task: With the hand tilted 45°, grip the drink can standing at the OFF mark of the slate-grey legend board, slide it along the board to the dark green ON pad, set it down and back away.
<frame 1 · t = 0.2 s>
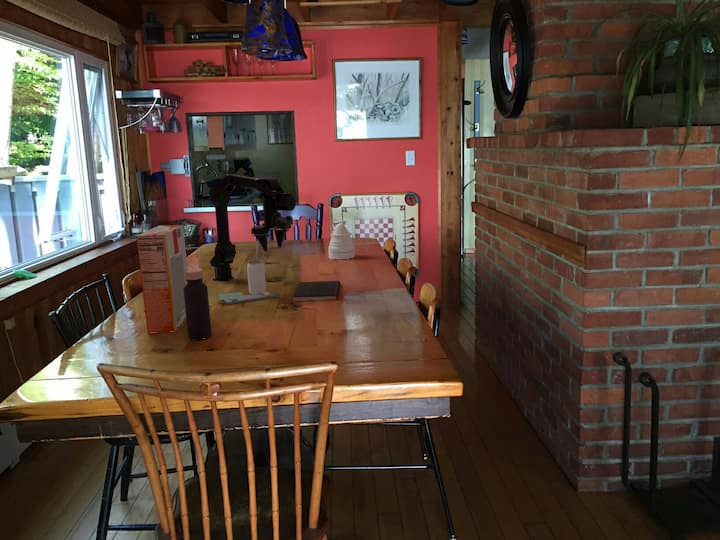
hand: (272, 249, 239), 14 cm above the table, tool pointing down, fingers open, 9 cm apart
hardcover book: (317, 294, 225), on the table
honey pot: (341, 257, 294), on the table
bottle: (200, 337, 177), on the table
cereal box: (171, 322, 194), on the table
on pad: (231, 296, 224), on the table
legend board: (250, 298, 220), on the table
can: (257, 293, 228), on the table
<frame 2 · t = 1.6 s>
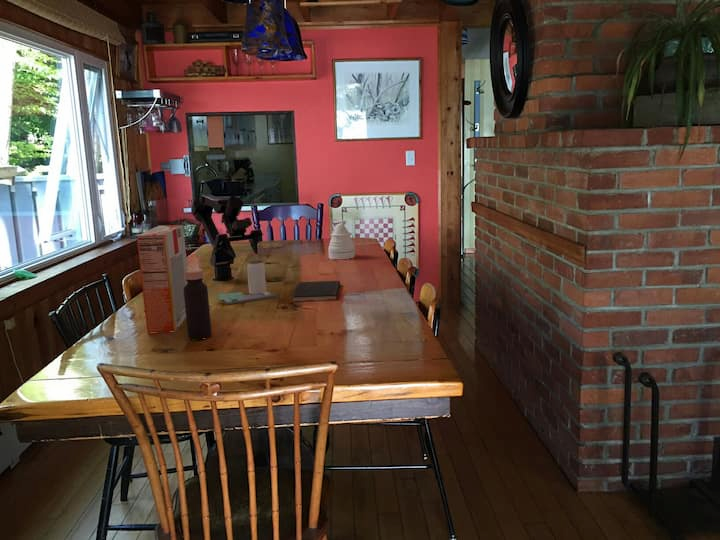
hand: (246, 255, 232), 13 cm above the table, tool tilted 45°, fingers open, 9 cm apart
nothing on the table moved.
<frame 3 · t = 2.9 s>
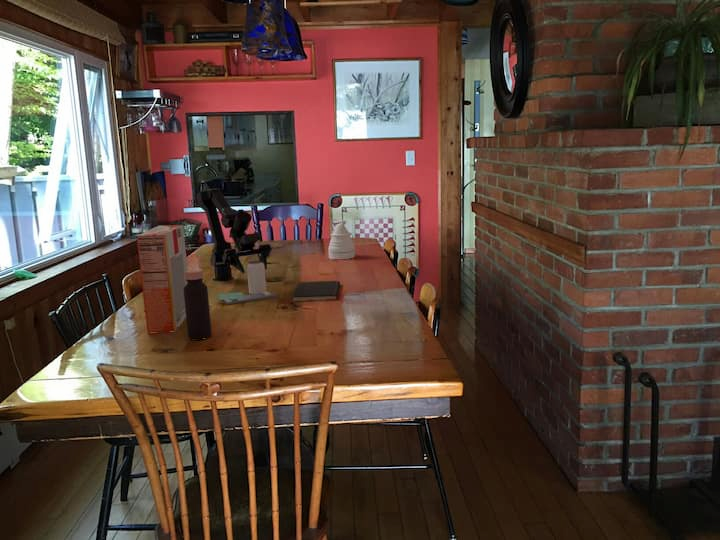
hand: (255, 270, 227), 9 cm above the table, tool tilted 45°, fingers open, 9 cm apart
nothing on the table moved.
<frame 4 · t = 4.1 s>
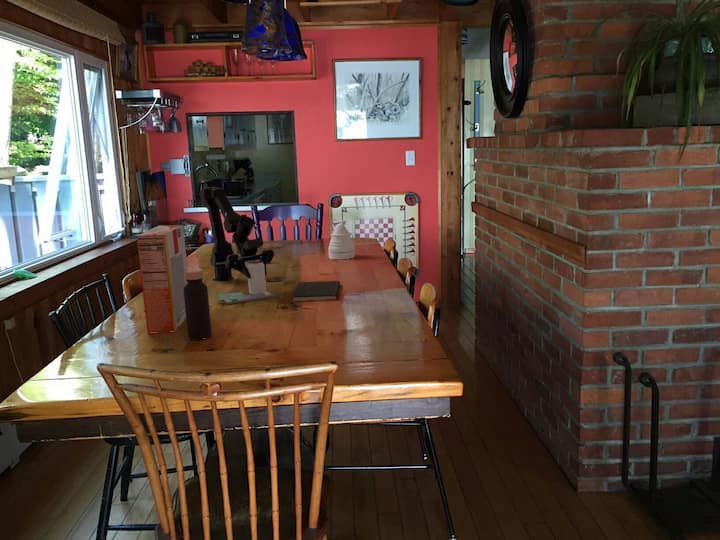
hand: (258, 276, 226), 7 cm above the table, tool tilted 45°, fingers closed on can, 6 cm apart
can: (257, 293, 228), on the table, touching gripper
everything else where it was.
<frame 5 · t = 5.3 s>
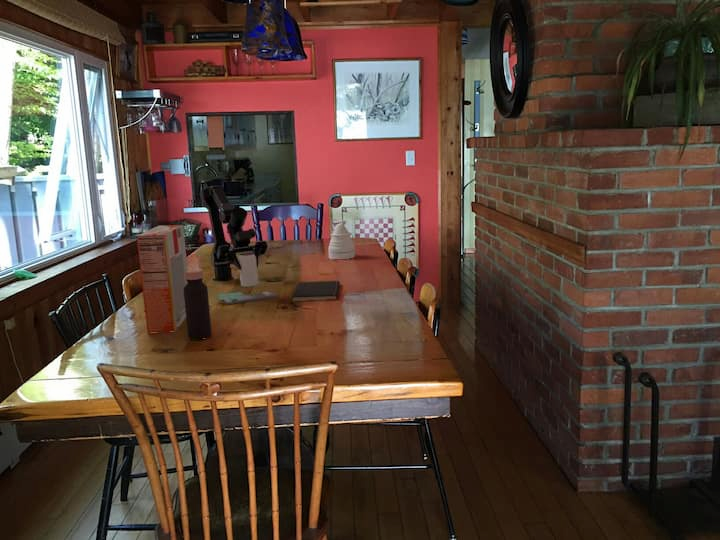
hand: (249, 268, 224), 10 cm above the table, tool tilted 45°, fingers closed on can, 6 cm apart
can: (249, 285, 226), point 3 cm above the table, touching gripper
everything else where it was.
when the fingers open (8 cm above the table, at t = 7.0 s): can stays where it is, resting on on pad.
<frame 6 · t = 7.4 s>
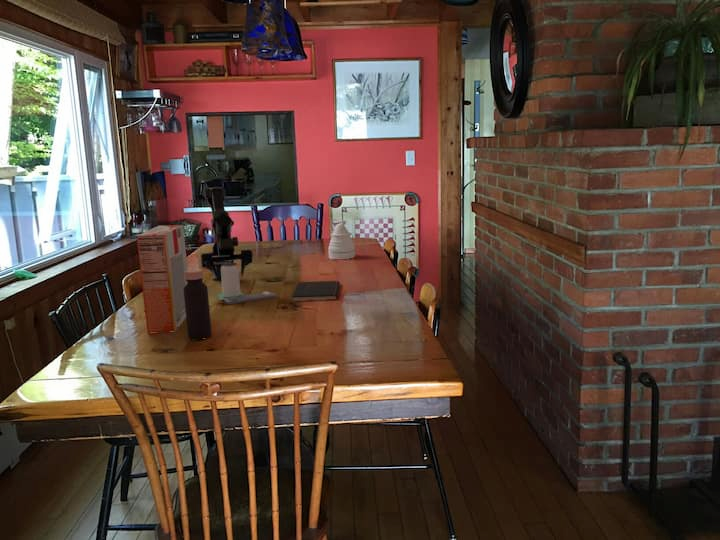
hand: (229, 276, 221), 8 cm above the table, tool tilted 45°, fingers open, 9 cm apart
can: (231, 296, 224), resting on on pad
everything else where it was.
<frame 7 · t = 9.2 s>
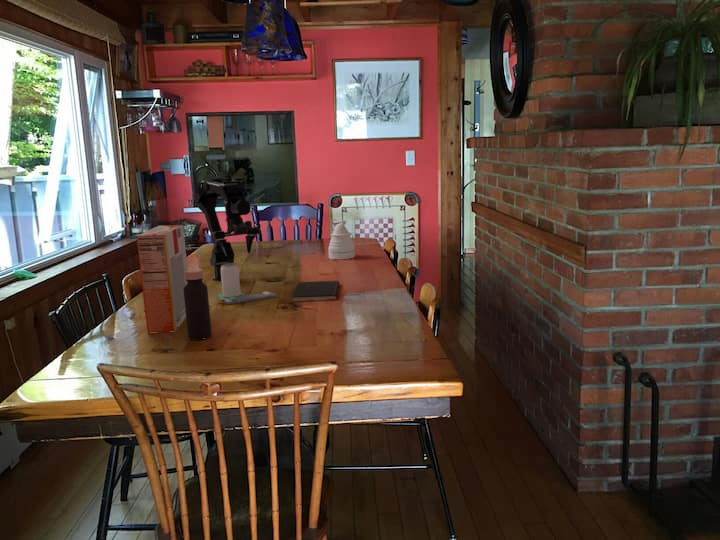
hand: (238, 254, 239), 13 cm above the table, tool pointing down, fingers open, 9 cm apart
nothing on the table moved.
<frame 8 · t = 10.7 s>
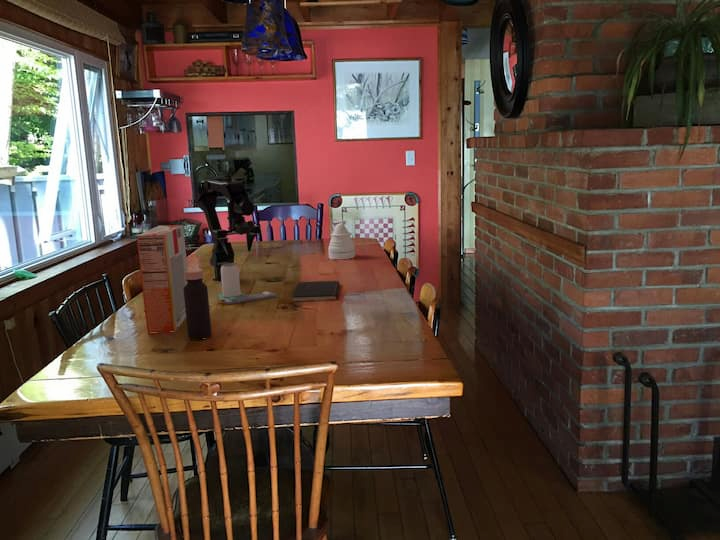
hand: (238, 253, 241), 13 cm above the table, tool pointing down, fingers open, 9 cm apart
nothing on the table moved.
at the end: can inside the target area (0.3 cm from its centre), resting on on pad; can tilted 0°; the gripper is holding nothing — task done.
